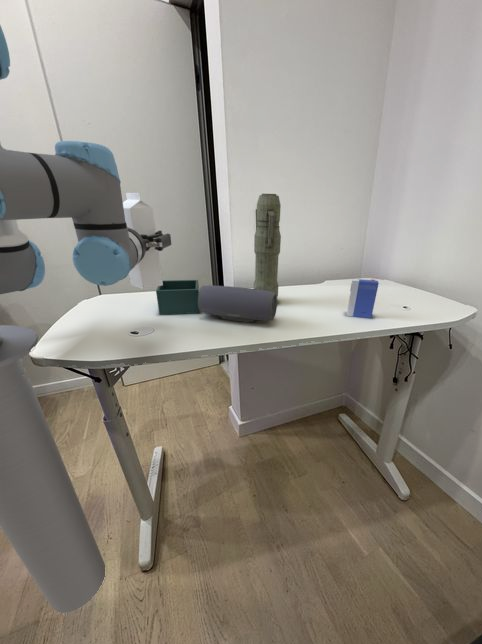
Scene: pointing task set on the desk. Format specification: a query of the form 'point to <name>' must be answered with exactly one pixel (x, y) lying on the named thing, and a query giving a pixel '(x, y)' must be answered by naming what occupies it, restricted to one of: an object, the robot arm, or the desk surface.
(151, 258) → the milk
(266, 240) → the thermos
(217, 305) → the bluetooth speaker
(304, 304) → the desk surface
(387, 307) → the desk surface
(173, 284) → the box
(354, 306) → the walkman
